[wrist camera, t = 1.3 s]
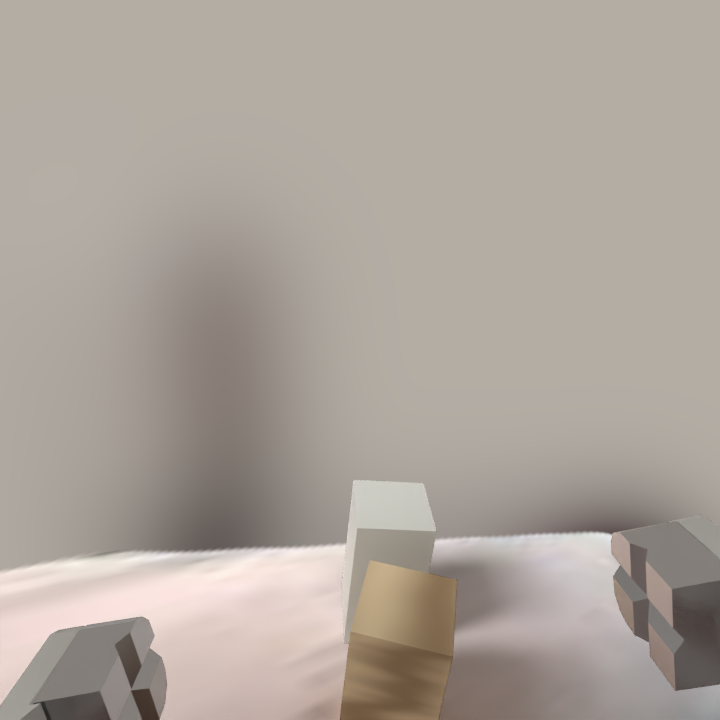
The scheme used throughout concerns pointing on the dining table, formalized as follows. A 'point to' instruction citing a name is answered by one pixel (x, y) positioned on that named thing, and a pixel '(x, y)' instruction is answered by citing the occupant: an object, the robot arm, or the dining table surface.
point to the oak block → (399, 645)
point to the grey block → (384, 535)
